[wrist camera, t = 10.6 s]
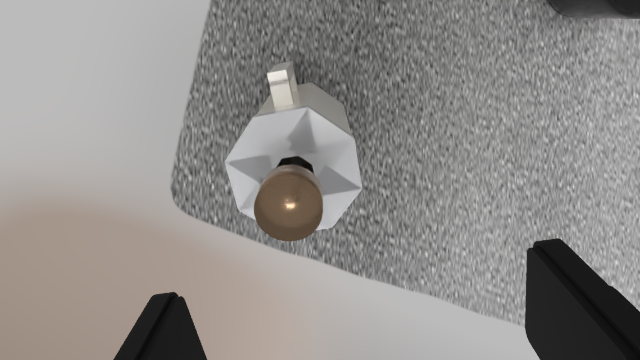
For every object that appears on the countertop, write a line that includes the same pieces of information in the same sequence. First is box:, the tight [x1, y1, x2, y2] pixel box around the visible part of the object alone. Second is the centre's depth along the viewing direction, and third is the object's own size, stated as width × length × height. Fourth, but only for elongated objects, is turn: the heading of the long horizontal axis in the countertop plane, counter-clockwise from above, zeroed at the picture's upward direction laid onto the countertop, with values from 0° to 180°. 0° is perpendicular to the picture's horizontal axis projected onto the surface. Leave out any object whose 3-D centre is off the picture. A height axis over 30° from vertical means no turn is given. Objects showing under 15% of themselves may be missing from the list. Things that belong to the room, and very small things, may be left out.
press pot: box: [225, 61, 362, 230], centre depth 34 cm, size 12×9×13 cm
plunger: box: [254, 156, 323, 241], centre depth 32 cm, size 4×4×17 cm
